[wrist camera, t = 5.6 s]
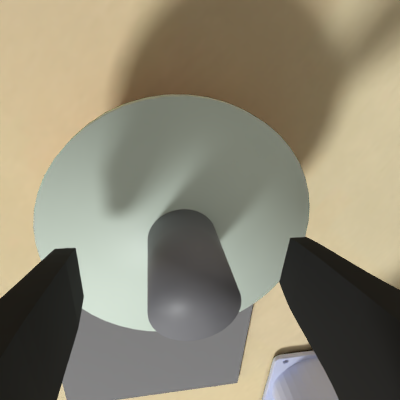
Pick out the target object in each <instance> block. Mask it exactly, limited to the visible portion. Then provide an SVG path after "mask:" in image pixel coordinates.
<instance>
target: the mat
mask: <svg viewBox="0 0 400 400" xmlns="http://www.w3.org/2000/svg"><path fill="white" fill-rule="evenodd" d="M252 307H253V304H252V305H251V306H249V307H248V308H246V309H244V310H243V311H241V312H239V313H238V315H237V316H236V318H235V319H234V320H233V322H232V323H231V324H230V325H229V326H227V327H226V328H225V329H224V330H222V331H221V332H219V333H217V334H215V335H213V336H210V337H208V338H204V339H200V340H195V341H178V340H173V339H169V338H167V337H164V336H162V335H161V334H159V333H158V332H157V331H144V330H136V329H131V328H127V327H122V326H118V325H116V324H113V323H110V322H107V321H104V320H102V319H100V318H98V317H96V316H94V315H92V314H90V313H88V312H87V311H85V310H84V309H82V311H81V317H80V322H79V328H78V331H77V335H76V338H75V341H74V345H73V348H72V351H71V355H70V358H69V361H68V364H67V368H66V371H65V374H64V378H63V381H62V383H63V387H64V391H65V395H66V398H67V400H119V399H126V398H133V397H140V396H147V395H154V394H161V393H168V392H176V391H183V390H190V389H197V388H204V387H211V386H218V385H226V384H233V383H237V381H238V376H239V372H240V367H241V362H242V357H243V352H244V347H245V342H246V337H247V332H248V327H249V322H250V317H251V312H252Z"/></svg>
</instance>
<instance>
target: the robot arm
mask: <svg viewBox="0 0 400 400" xmlns="http://www.w3.org/2000/svg"><path fill="white" fill-rule="evenodd" d="M279 282H280V285H281V288H282V290H283V293H284V295H285V298H286V300H287V303H288V305H289V307H290V309H291V311H292V313H293V315H294V317H295V319H296V320H297V322H298V324H299V326H300V328H301V329H302V331H303V333H304V335H305V336H306V338H307V340H308V342H309V344H310V345H311V347H312V349H313V351H305V352H297V353H289V354H281V355H277V356H275V357H274V359H273V362H272V366H271V369H270V373H269V376H268V380H267V384H266V387H265V391H264V394H263V398H262V400H400V290H399V289H397V288H395V287H393V286H391V285H389V284H387V283H386V282H384V281H382V280H380V279H378V278H377V277H375V276H373V275H371V274H370V273H368V272H366V271H364V270H363V269H361V268H359V267H357V266H356V265H354V264H352V263H351V262H349V261H347V260H346V259H344V258H342V257H341V256H339V255H337V254H336V253H334V252H332V251H331V250H329V249H327V248H325V247H324V246H322V245H320V244H318V243H317V242H315V241H313V240H311V239H309V238H307V237H295V238H290V240H289V244H288V248H287V252H286V256H285V260H284V265H283V269H282V273H281V277H280V281H279ZM83 299H84V294H83V288H82V282H81V276H80V270H79V264H78V258H77V252H76V248H60V249H54V250H53V251H52V252H51V253H49V254H48V255H47V256H46V257H45V258H44V259H43V260H42V261H41V262H40V263H39V264H38V265H37V266H35V267H34V268H33V269H32V270H31V271H30V272H29V273H28V274H27V275H26V276H25V277H24V278H23V279H22V280H20V281H19V282H18V283H17V284H16V285H15V286H14V287H13V288H12V289H10V290H9V291H8V292H7V293H6V294H5V295H4V296H3V297H2V298H0V400H57V397H58V394H59V391H60V387H61V384H62V381H63V378H64V374H65V371H66V368H67V364H68V361H69V358H70V355H71V351H72V348H73V345H74V341H75V338H76V335H77V331H78V328H79V322H80V317H81V311H82V305H83Z"/></svg>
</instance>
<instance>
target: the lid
mask: <svg viewBox="0 0 400 400" xmlns="http://www.w3.org/2000/svg"><path fill="white" fill-rule="evenodd" d="M308 220H309V192H308V188H307V183H306V179H305V176H304V173H303V171H302V168H301V166H300V163H299V161H298V160H297V158H296V156H295V155H294V153H293V151H292V150H291V148H290V147H289V146H288V145H287V143H286V142H285V141H284V140H283V139H282V137H281V136H280V135H279V134H278V133H276V132H275V131H274V130H273V129H272V128H271V127H270V126H268V125H267V124H266V123H264V122H263V121H261V120H260V119H258V118H257V117H255V116H253V115H252V114H250V113H248V112H247V111H245V110H243V109H241V108H238V107H236V106H234V105H232V104H229V103H227V102H224V101H220V100H217V99H213V98H210V97H205V96H197V95H190V94H165V95H159V96H152V97H145V98H142V99H139V100H135V101H132V102H128V103H125V104H123V105H121V106H118V107H116V108H114V109H112V110H110V111H107V112H105V113H104V114H102V115H101V116H99V117H98V118H96V119H95V120H93V121H92V122H90V123H88V124H87V125H86V126H85V127H84V128H83V129H82V130H80V131H79V132H78V133H77V134H76V135H75V136H74V137H73V138H72V139H71V140H70V141H69V142H68V143H67V144H66V145H65V147H64V148H63V149H62V150H61V151H60V153H59V154H58V155H57V156H56V157H55V159H54V160H53V162H52V164H51V165H50V167H49V169H48V170H47V172H46V174H45V175H44V178H43V180H42V183H41V186H40V188H39V191H38V194H37V198H36V203H35V208H34V227H33V228H34V235H35V242H36V246H37V249H38V253H39V256H40V259H41V261H42V260H43V259H44V258H45V257H46V256H47V255H48V254H49V253H51V252H52V251H53V250H54V249H60V248H76V252H77V258H78V264H79V270H80V276H81V282H82V288H83V294H84V299H83V305H82V309H84V310H85V311H87V312H88V313H90V314H92V315H94V316H96V317H98V318H100V319H102V320H104V321H107V322H110V323H113V324H116V325H118V326H122V327H127V328H131V329H136V330H144V331H157V332H158V333H159V334H161V335H162V336H164V337H167V338H169V339H173V340H178V341H195V340H200V339H204V338H208V337H210V336H213V335H215V334H217V333H219V332H221V331H222V330H224V329H225V328H226V327H227V326H229V325H230V324H231V323H232V322H233V320H234V319H235V318H236V316H237V315H238V313H239V312H241V311H243V310H244V309H246V308H248V307H249V306H251V305H252V304H254V303H255V302H257V301H258V300H259V299H260V298H262V297H263V296H264V295H266V294H267V293H268V292H269V291H270V290H271V289H272V288H273V287H274V286H275V285H276V284H277V283H278V282H279V281H280V277H281V273H282V269H283V265H284V260H285V256H286V252H287V248H288V244H289V240H290V238H295V237H305V234H306V230H307V225H308Z"/></svg>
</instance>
